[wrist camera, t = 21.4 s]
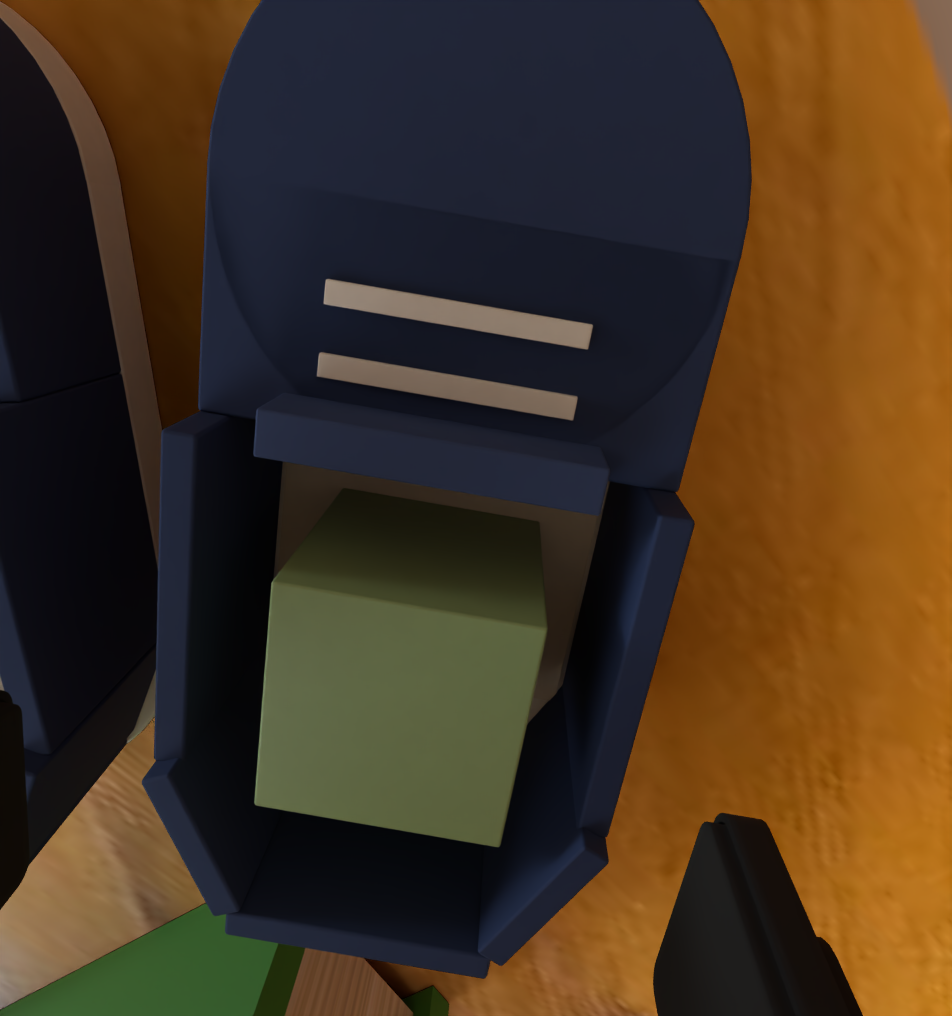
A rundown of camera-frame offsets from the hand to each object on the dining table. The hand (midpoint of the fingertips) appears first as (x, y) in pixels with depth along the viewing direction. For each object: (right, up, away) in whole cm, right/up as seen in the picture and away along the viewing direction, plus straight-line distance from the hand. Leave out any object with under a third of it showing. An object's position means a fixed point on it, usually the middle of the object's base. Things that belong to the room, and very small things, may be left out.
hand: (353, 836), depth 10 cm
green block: (+1, +2, +8) cm, 8 cm away
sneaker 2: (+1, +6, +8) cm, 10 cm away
